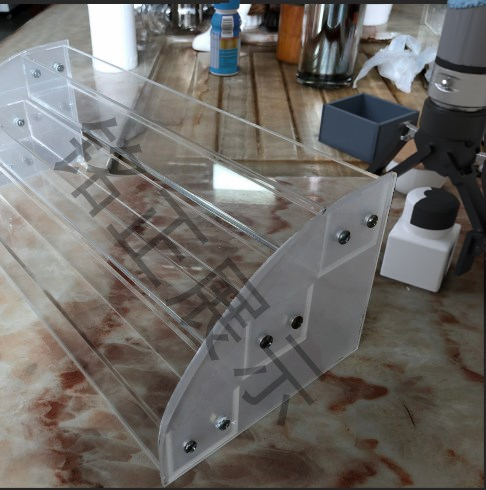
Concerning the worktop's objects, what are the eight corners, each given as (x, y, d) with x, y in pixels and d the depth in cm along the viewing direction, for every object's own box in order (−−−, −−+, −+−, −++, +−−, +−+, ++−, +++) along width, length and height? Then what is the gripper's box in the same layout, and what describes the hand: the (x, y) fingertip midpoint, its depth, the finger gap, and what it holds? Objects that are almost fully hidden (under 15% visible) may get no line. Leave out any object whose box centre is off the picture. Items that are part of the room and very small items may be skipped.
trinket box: (446, 183, 108) (459, 134, 102) (442, 210, 99) (456, 159, 94) (384, 173, 111) (394, 125, 106) (376, 198, 103) (386, 149, 98)
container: (448, 269, 86) (472, 189, 79) (435, 297, 80) (459, 215, 73) (394, 253, 89) (412, 176, 82) (378, 279, 84) (395, 199, 77)
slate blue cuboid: (411, 149, 120) (371, 164, 114) (357, 127, 130) (317, 141, 124) (420, 111, 115) (378, 125, 110) (363, 91, 125) (322, 104, 120)
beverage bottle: (203, 73, 164) (204, -4, 153) (220, 65, 169) (223, -10, 158) (228, 79, 159) (231, -1, 148) (245, 71, 164) (250, -6, 153)
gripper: (355, 78, 78) (331, 217, 89) (547, 143, 60) (485, 305, 72) (393, 68, 81) (364, 203, 93) (584, 127, 64) (519, 284, 76)
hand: (417, 248), depth 83 cm, fingers open, 13 cm apart
